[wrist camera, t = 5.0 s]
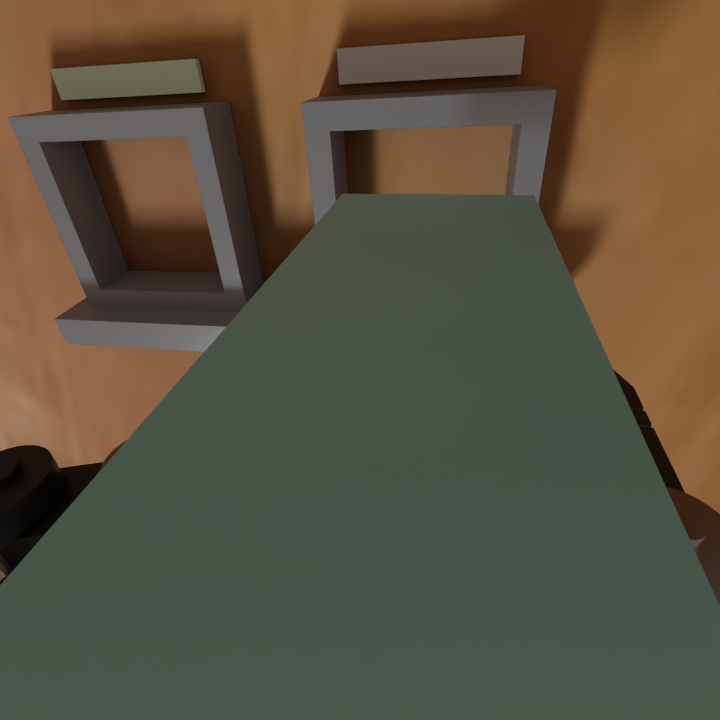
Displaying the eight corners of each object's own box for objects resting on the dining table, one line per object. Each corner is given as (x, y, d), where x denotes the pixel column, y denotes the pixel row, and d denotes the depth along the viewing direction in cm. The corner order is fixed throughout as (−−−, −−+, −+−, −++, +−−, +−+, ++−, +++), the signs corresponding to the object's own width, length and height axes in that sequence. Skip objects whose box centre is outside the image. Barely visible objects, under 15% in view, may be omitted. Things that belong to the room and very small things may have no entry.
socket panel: (582, 31, 16) (613, 27, 13) (530, 324, 23) (542, 370, 20) (16, 71, 21) (-66, 76, 17) (113, 308, 27) (66, 343, 24)
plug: (534, 195, 11) (1246, 1772, 1) (506, 358, 14) (611, 1220, 4) (342, 193, 12) (-362, 997, 2) (351, 347, 15) (89, 1014, 5)
